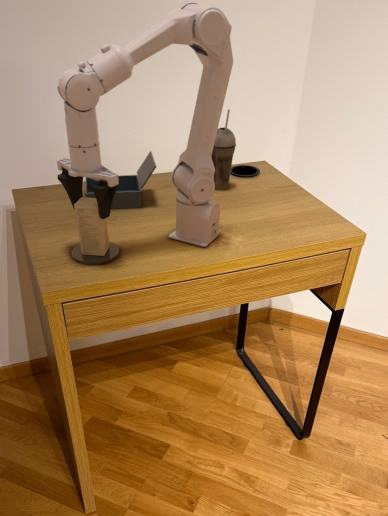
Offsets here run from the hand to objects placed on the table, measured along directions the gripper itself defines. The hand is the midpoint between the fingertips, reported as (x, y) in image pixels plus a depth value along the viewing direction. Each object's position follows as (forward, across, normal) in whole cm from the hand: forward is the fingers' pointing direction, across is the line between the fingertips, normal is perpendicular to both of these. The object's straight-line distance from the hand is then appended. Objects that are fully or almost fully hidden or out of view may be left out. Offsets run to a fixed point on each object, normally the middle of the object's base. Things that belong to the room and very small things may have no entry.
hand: (91, 212), depth 100 cm
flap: (+1, -11, +30) cm, 32 cm away
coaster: (+9, 0, 0) cm, 9 cm away
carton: (+9, -17, +24) cm, 30 cm away
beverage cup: (+10, 0, +49) cm, 50 cm away
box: (+9, 0, 0) cm, 9 cm away
